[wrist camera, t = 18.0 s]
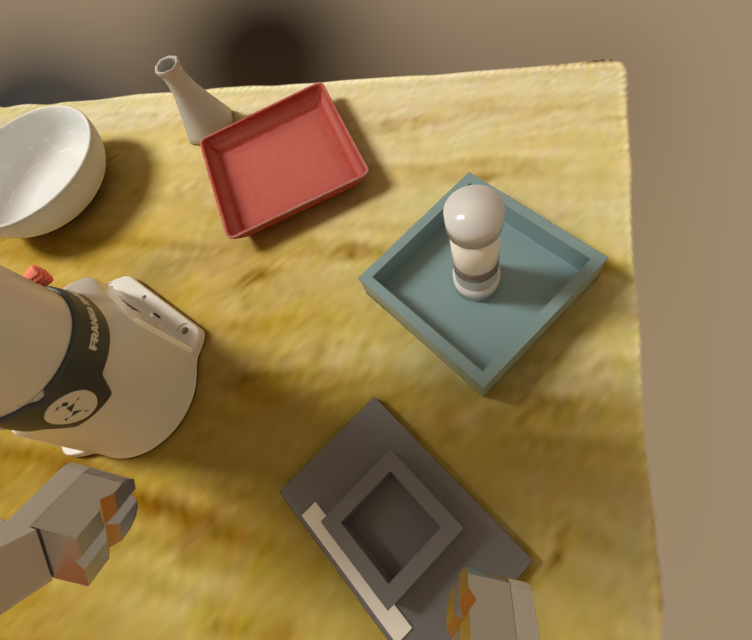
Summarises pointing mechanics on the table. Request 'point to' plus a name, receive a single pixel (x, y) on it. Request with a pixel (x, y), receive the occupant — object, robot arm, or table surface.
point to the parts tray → (495, 315)
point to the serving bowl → (47, 170)
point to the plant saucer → (281, 161)
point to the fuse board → (397, 525)
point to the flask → (193, 101)
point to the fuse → (475, 240)
